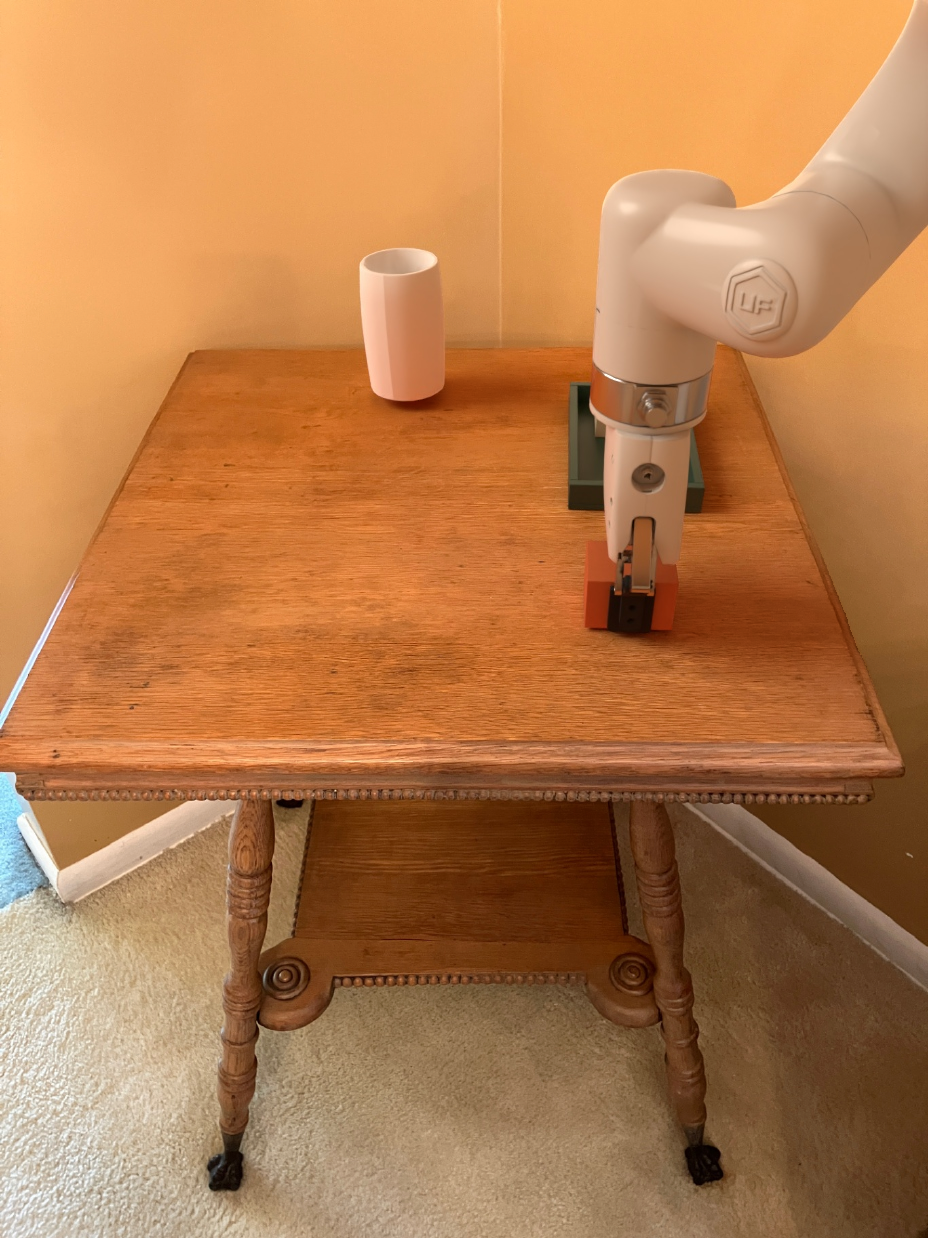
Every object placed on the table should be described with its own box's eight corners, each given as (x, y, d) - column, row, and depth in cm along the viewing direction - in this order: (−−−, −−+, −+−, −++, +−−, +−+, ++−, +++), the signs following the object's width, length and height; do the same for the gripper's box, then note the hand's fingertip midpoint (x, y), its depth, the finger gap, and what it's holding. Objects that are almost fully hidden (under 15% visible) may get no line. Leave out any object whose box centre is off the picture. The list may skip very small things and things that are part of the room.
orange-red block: (671, 630, 68) (679, 583, 65) (584, 627, 69) (587, 580, 66) (666, 588, 72) (673, 542, 69) (583, 586, 73) (586, 540, 70)
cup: (459, 382, 100) (454, 250, 91) (431, 418, 94) (423, 280, 85) (387, 372, 103) (376, 242, 93) (356, 406, 97) (341, 271, 88)
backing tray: (700, 513, 80) (705, 487, 78) (567, 509, 81) (569, 484, 79) (681, 406, 95) (684, 383, 93) (568, 404, 96) (569, 381, 94)
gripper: (726, 455, 52) (686, 685, 63) (695, 331, 65) (667, 541, 76) (592, 453, 52) (577, 681, 64) (588, 331, 65) (576, 539, 77)
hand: (626, 603), depth 70 cm, fingers closed on orange-red block, 5 cm apart
